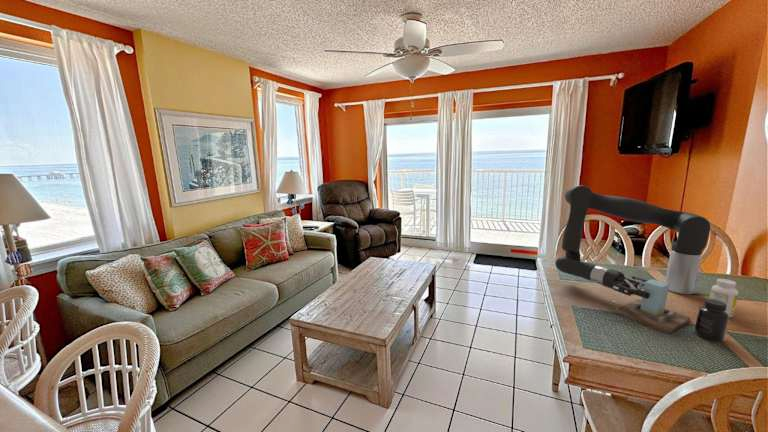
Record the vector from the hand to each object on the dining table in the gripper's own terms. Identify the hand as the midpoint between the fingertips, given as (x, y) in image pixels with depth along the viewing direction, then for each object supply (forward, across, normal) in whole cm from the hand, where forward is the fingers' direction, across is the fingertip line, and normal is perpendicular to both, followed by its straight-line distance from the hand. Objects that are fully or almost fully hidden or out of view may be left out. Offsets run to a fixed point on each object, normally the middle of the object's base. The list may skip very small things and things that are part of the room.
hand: (655, 293), depth 111 cm
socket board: (0, 0, +9) cm, 9 cm away
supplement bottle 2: (+15, +2, +9) cm, 18 cm away
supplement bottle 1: (+11, +24, +9) cm, 28 cm away
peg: (0, 0, +8) cm, 8 cm away
